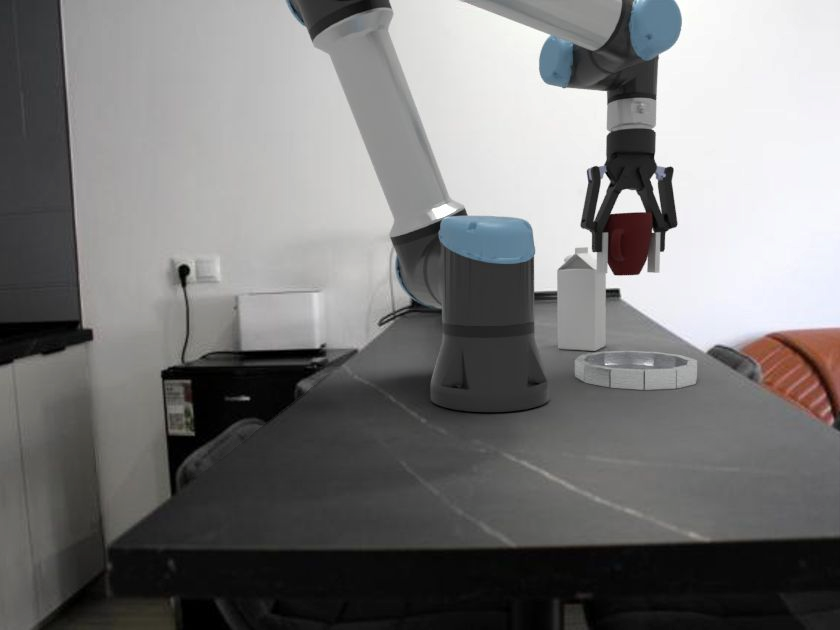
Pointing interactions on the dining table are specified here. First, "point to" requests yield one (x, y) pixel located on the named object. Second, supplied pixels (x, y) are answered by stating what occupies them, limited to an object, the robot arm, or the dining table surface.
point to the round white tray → (636, 370)
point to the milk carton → (581, 303)
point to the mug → (628, 241)
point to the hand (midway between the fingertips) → (627, 272)
